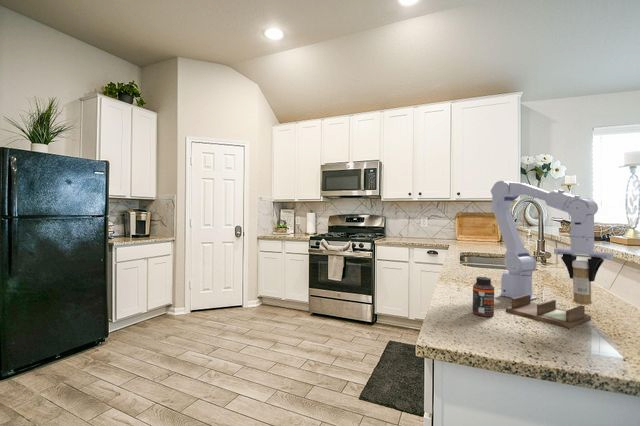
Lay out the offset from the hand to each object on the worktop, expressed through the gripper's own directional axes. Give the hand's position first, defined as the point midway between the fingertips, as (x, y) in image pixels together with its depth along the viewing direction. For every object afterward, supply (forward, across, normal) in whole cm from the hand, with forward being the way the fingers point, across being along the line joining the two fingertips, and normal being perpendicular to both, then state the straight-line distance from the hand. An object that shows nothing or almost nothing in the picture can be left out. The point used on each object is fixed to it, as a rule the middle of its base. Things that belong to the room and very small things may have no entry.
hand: (581, 279), depth 98 cm
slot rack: (+10, +4, +13) cm, 17 cm away
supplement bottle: (+11, +15, +28) cm, 34 cm away
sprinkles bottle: (+8, 0, 0) cm, 8 cm away
